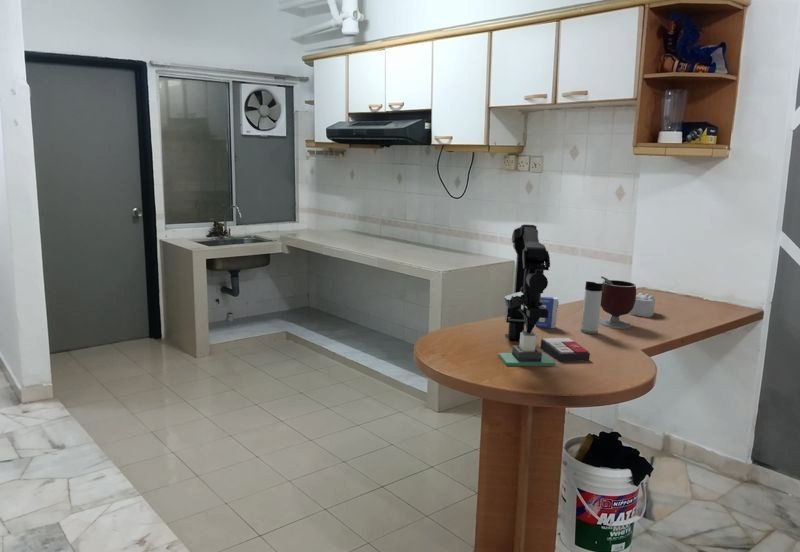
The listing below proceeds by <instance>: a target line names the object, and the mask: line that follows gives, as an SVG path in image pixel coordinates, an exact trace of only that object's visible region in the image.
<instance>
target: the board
mask: <svg viewBox="0 0 800 552" xmlns="http://www.w3.org/2000/svg"><path fill="white" fill-rule="evenodd" d="M498 357H499V359H500V360H501V361H502V362H503V363H504V365H505V366H506V367H507V366H509V367H510V366H513V367H515V366H517V367H519V366H521V367H525V366H526V367H527V366H528V367H529V366H530V367H555V366H556V362H555V361H554V360H553V359H552V358H551V357H549V355H547V353H546V352H545V353H544V352H542V351H541V349H540V348H538V347H537V346H536V347H535V352H521V351H520V350H519V345H512V352H498Z"/></svg>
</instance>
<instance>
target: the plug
mask: <svg viewBox="0 0 800 552" xmlns="http://www.w3.org/2000/svg"><path fill="white" fill-rule="evenodd" d="M537 337H538V335H537V334H536V333H534V332H533V330H532V331H531V333H527V331H526V330H524V331H522V332H520V340H519V344H518V346H519V350H520V351H521V352H535V347H537V339H538V338H537Z"/></svg>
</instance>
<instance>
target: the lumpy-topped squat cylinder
mask: <svg viewBox="0 0 800 552" xmlns="http://www.w3.org/2000/svg"><path fill="white" fill-rule="evenodd" d="M655 303H656V298H655V296H654V295H650V293H646V294H645V293H643V292H639V293H638V294H637V293H636V300H635V304H634V307H633V309H632V310H631V311H630V312H629V313H628V314H627V315H630V316H636V315H637V317H641V316H642V317H643V318H651V317H653V316H654V313H655V305H656V304H655Z"/></svg>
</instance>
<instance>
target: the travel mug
mask: <svg viewBox="0 0 800 552" xmlns="http://www.w3.org/2000/svg"><path fill="white" fill-rule="evenodd" d="M602 285H603V284H602V283H601V282H599V283H598V282H595V281H589V280H588V281H585V288H584V297H583V305H582V308H583V309H582V316H581V325H580V331H581V333H585V334H588V335H595V334H598V331H599V325H600V323H599V320H600V316H601V315H600V314H601V296H602Z"/></svg>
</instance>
